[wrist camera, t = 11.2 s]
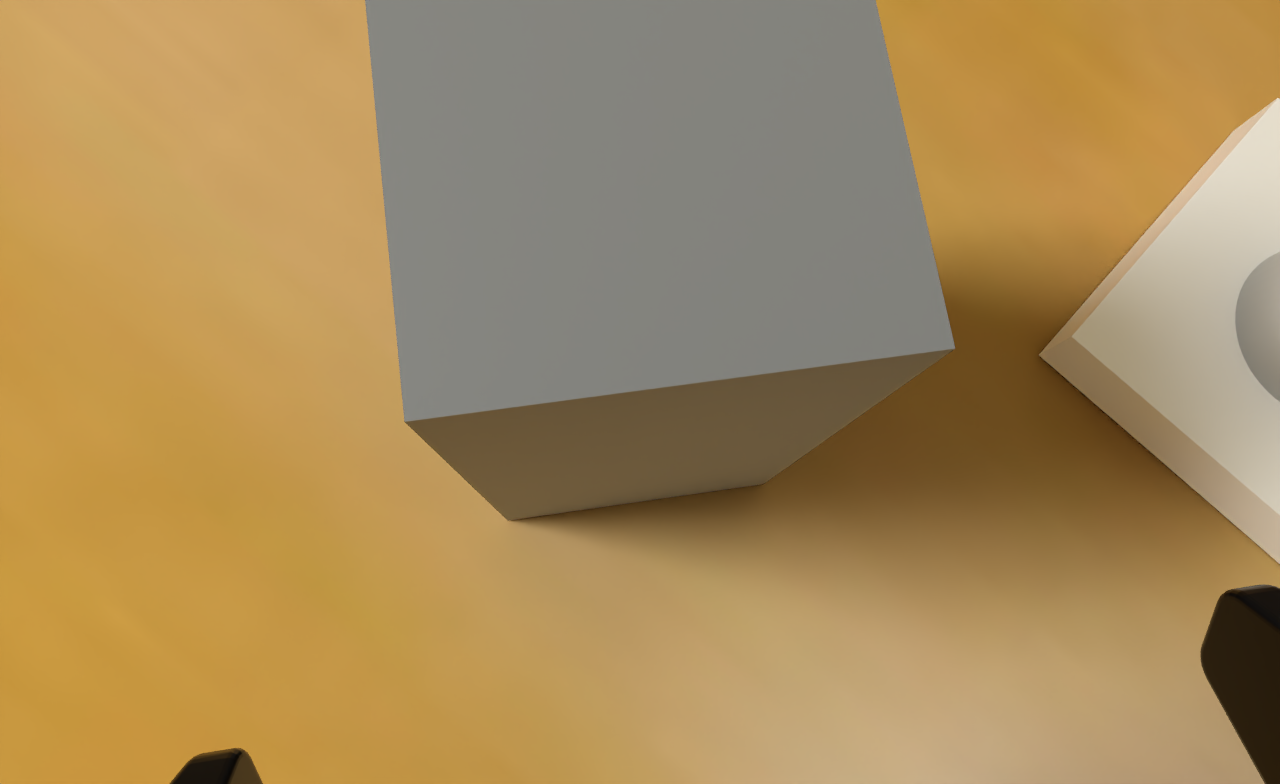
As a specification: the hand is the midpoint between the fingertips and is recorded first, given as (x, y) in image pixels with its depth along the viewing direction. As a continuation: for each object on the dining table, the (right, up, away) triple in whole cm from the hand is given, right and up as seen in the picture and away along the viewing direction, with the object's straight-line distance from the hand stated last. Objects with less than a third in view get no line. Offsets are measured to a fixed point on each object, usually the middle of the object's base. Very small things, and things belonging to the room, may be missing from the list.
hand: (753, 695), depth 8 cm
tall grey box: (-2, +3, +12) cm, 13 cm away
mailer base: (+14, +4, +13) cm, 19 cm away
